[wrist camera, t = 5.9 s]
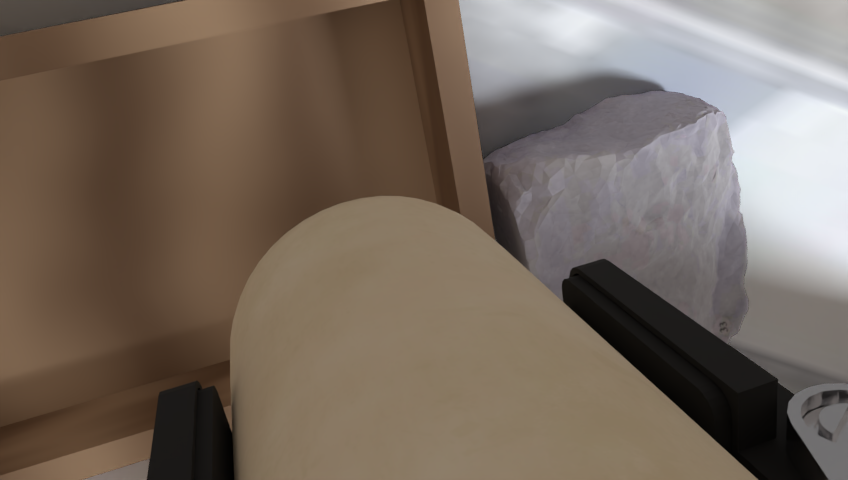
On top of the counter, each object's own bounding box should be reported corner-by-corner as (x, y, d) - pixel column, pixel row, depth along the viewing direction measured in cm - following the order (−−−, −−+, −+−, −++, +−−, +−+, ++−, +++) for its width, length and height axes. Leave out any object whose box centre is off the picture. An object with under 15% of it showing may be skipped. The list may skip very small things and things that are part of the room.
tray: (415, -46, 23) (450, -52, 19) (475, 300, 28) (511, 345, 24) (-357, 106, 19) (-487, 133, 15) (-127, 479, 24) (-186, 563, 20)
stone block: (652, 62, 29) (448, 157, 25) (752, 70, 24) (524, 185, 21) (684, 300, 34) (518, 403, 31) (772, 340, 30) (590, 464, 26)
